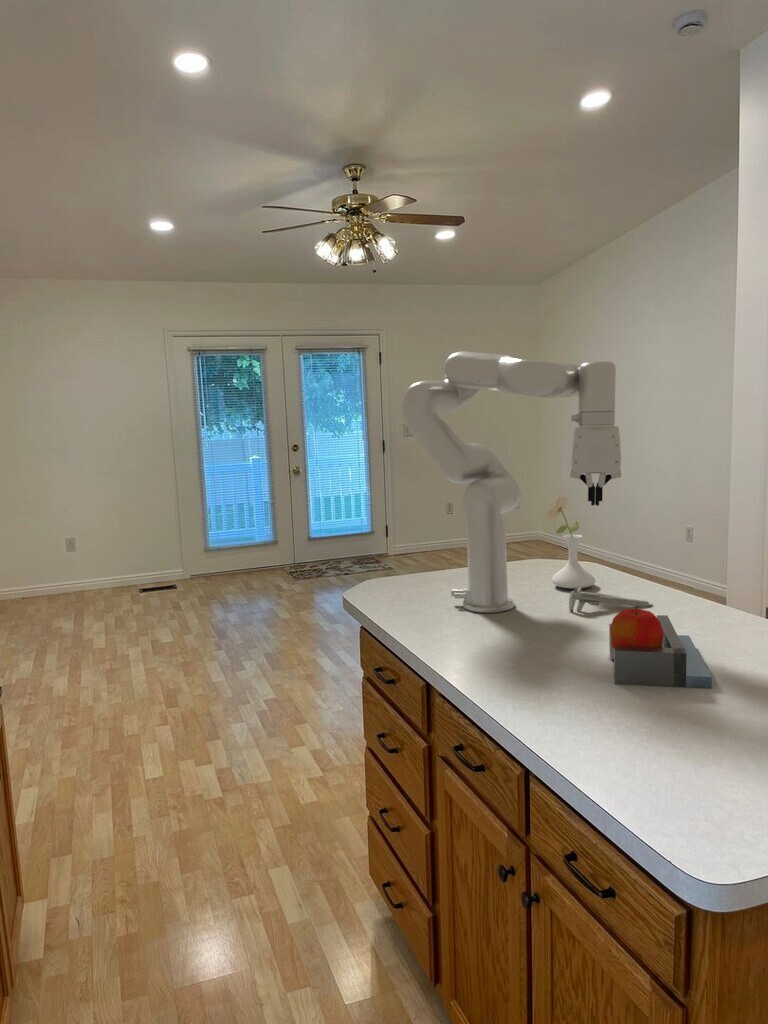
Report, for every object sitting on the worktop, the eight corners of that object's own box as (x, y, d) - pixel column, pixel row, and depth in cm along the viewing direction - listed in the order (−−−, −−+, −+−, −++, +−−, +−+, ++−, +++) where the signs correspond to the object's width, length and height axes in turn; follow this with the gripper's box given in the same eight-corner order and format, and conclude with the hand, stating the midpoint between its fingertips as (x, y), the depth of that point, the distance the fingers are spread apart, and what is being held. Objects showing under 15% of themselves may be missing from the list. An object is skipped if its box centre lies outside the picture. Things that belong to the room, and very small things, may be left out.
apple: (601, 664, 131) (600, 602, 130) (645, 659, 133) (645, 597, 131) (626, 682, 122) (626, 615, 121) (673, 676, 124) (674, 610, 122)
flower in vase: (576, 579, 196) (575, 490, 192) (604, 588, 185) (604, 494, 182) (537, 586, 190) (536, 494, 187) (564, 595, 180) (563, 498, 177)
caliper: (570, 614, 165) (570, 588, 164) (569, 612, 166) (568, 587, 165) (653, 607, 167) (653, 581, 166) (651, 605, 168) (651, 580, 167)
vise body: (615, 684, 122) (614, 650, 121) (606, 642, 143) (606, 614, 142) (711, 688, 118) (712, 654, 117) (688, 645, 139) (689, 615, 138)
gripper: (560, 421, 149) (559, 507, 152) (634, 419, 145) (632, 507, 148) (560, 420, 156) (560, 502, 159) (631, 418, 152) (629, 502, 155)
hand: (595, 504), depth 154 cm, fingers closed
